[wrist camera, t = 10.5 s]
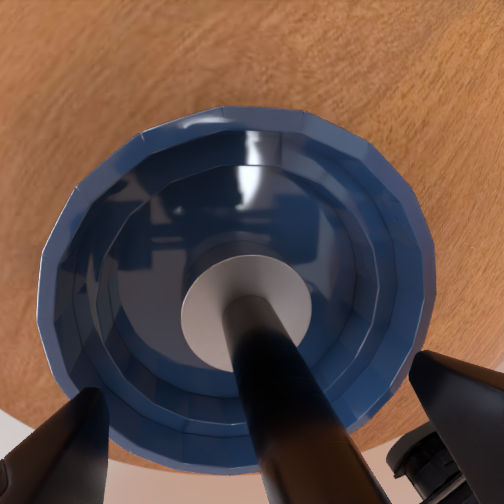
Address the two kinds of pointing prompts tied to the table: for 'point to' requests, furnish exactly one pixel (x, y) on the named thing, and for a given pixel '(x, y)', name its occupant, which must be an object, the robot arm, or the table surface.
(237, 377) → the paper towel holder
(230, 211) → the bowl
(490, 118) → the table surface
